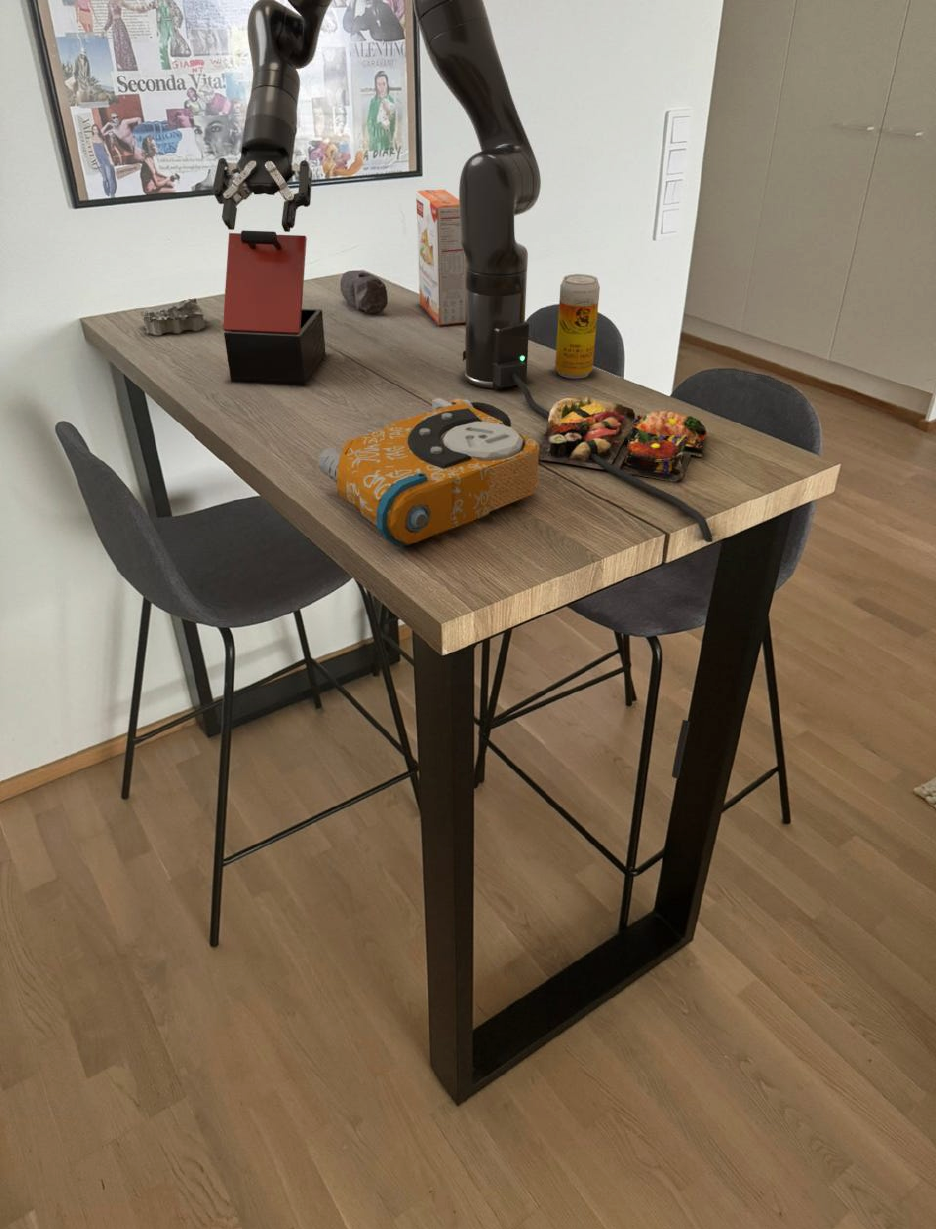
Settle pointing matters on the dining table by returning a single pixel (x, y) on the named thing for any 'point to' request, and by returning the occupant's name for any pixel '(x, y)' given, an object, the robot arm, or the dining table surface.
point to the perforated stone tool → (364, 291)
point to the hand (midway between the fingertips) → (257, 227)
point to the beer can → (577, 325)
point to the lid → (264, 282)
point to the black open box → (277, 353)
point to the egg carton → (175, 318)
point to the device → (434, 470)
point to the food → (622, 437)
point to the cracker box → (441, 257)
